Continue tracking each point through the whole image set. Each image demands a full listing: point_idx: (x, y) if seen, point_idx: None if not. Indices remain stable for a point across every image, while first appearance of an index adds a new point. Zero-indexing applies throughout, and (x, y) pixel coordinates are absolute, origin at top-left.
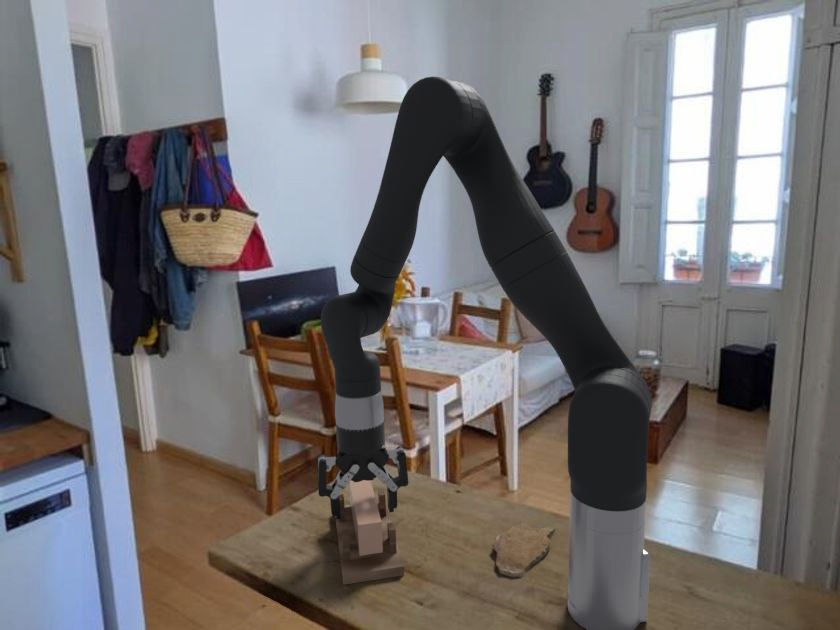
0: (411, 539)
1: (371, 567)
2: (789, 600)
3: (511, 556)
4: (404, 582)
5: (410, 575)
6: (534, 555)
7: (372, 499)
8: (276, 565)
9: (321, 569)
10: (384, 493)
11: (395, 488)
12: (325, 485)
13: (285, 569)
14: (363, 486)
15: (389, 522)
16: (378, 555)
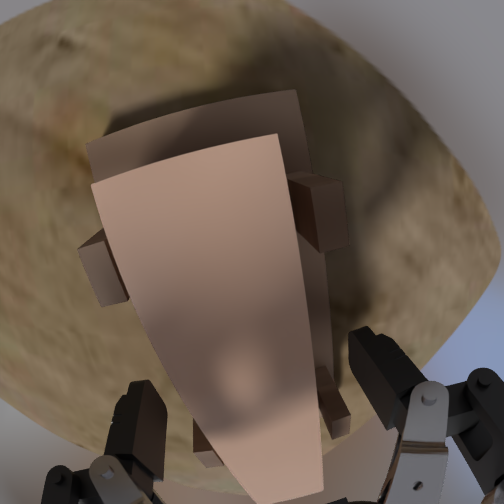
0: (108, 319)
1: (195, 127)
2: None
3: None
4: (96, 112)
5: (81, 147)
6: None
7: (215, 424)
8: (448, 204)
9: (358, 176)
10: (197, 456)
11: (96, 466)
12: (495, 415)
13: (433, 186)
14: (272, 475)
15: None
16: None
